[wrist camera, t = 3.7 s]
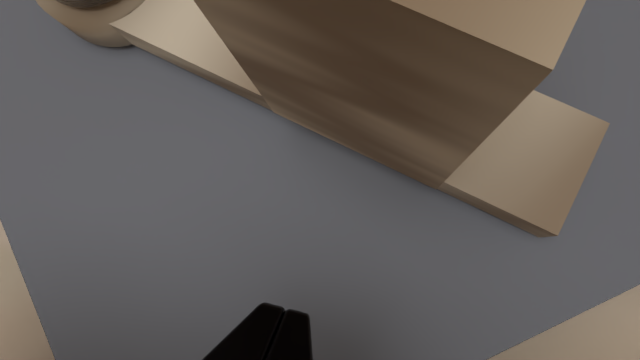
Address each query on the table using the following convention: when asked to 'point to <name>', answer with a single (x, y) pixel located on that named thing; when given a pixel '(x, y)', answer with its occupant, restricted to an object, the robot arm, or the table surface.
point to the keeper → (83, 3)
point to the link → (391, 84)
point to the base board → (285, 210)
